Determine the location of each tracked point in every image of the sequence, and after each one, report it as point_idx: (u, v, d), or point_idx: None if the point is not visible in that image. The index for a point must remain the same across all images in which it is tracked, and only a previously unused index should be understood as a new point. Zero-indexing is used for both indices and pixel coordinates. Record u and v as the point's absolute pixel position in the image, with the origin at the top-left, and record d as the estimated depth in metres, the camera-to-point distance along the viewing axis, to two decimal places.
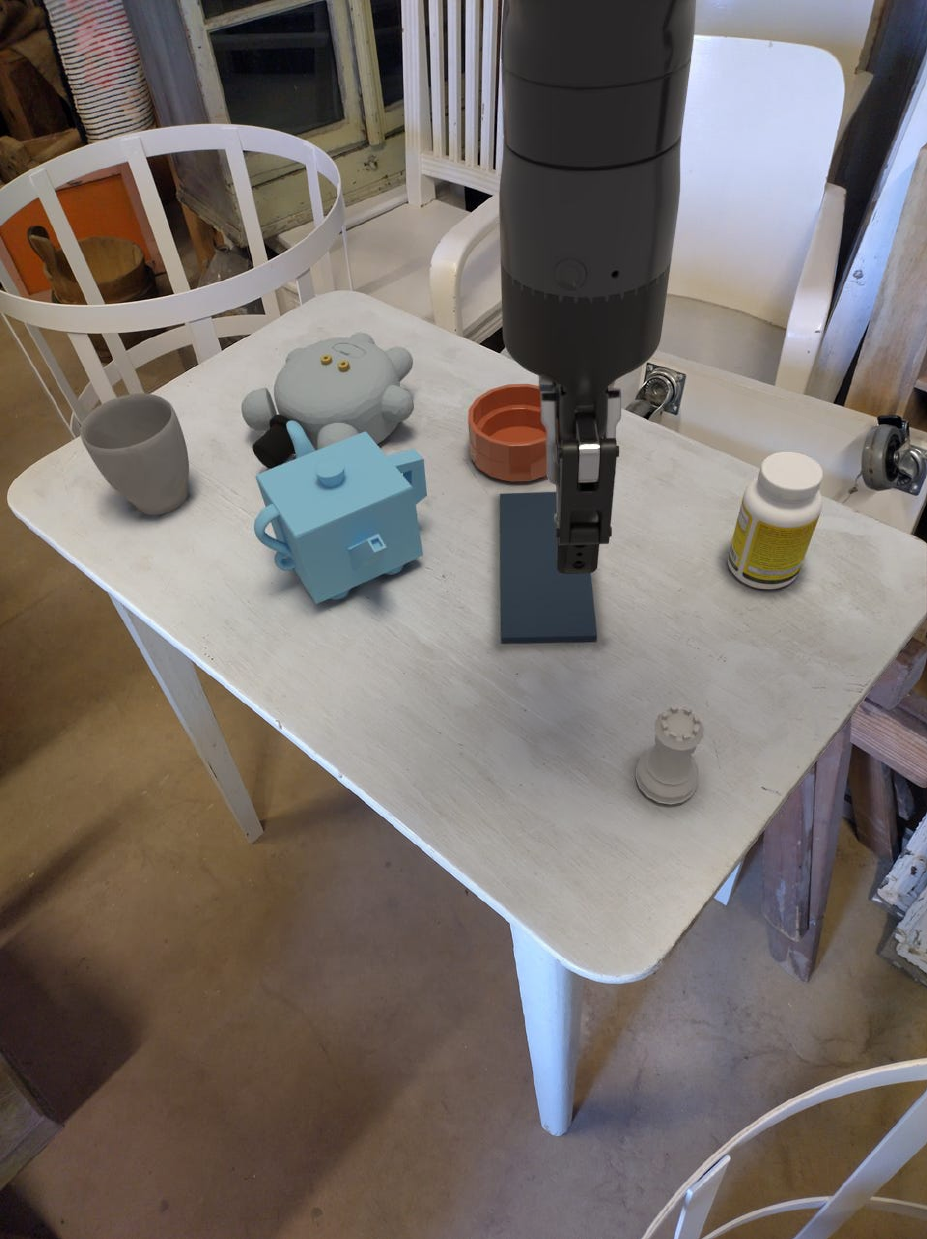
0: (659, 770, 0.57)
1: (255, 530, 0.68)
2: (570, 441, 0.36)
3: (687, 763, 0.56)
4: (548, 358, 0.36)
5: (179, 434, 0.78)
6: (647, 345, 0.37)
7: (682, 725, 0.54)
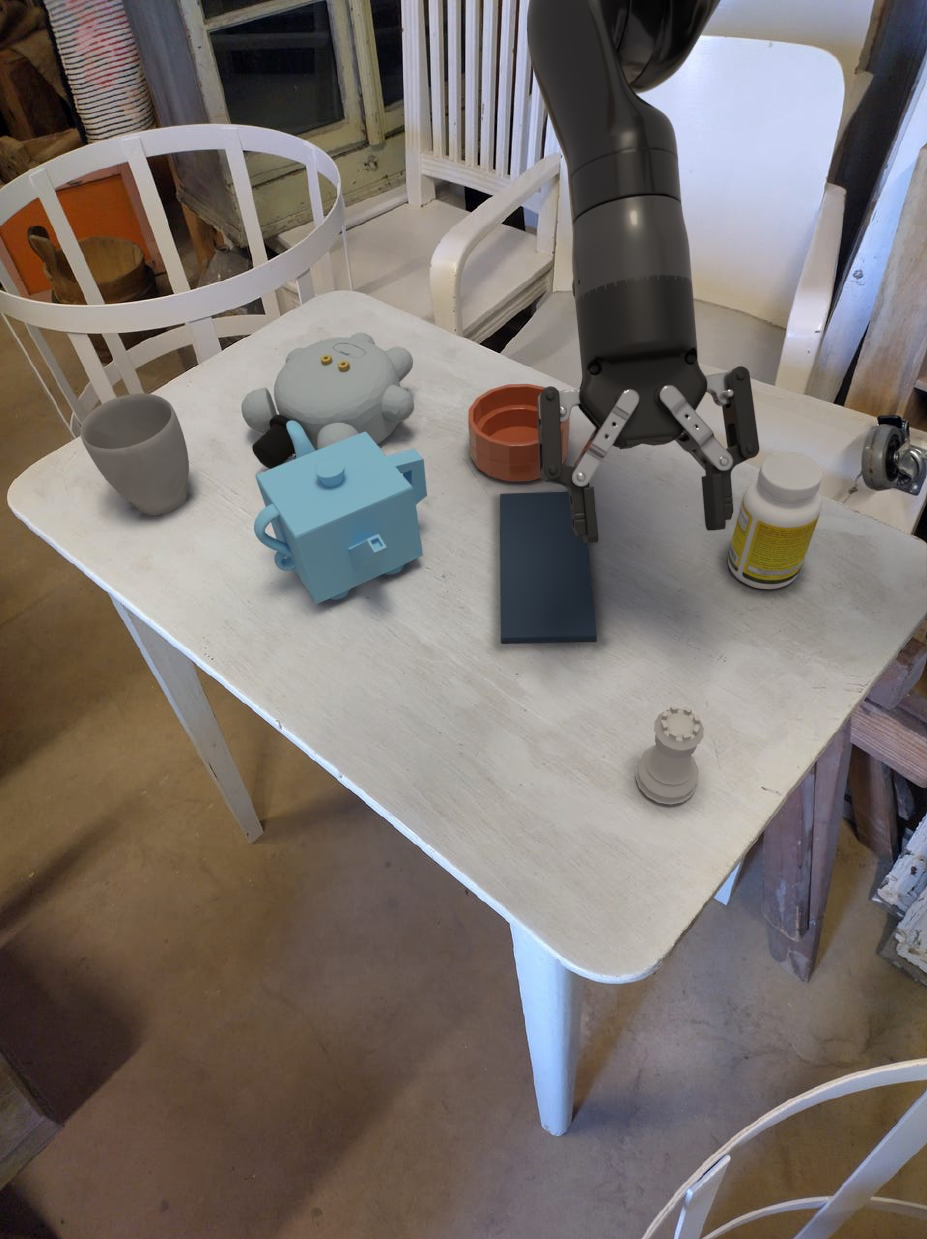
0: (659, 770, 0.57)
1: (255, 530, 0.68)
2: None
3: (687, 763, 0.56)
4: None
5: (179, 434, 0.78)
6: (607, 337, 0.51)
7: (682, 725, 0.54)
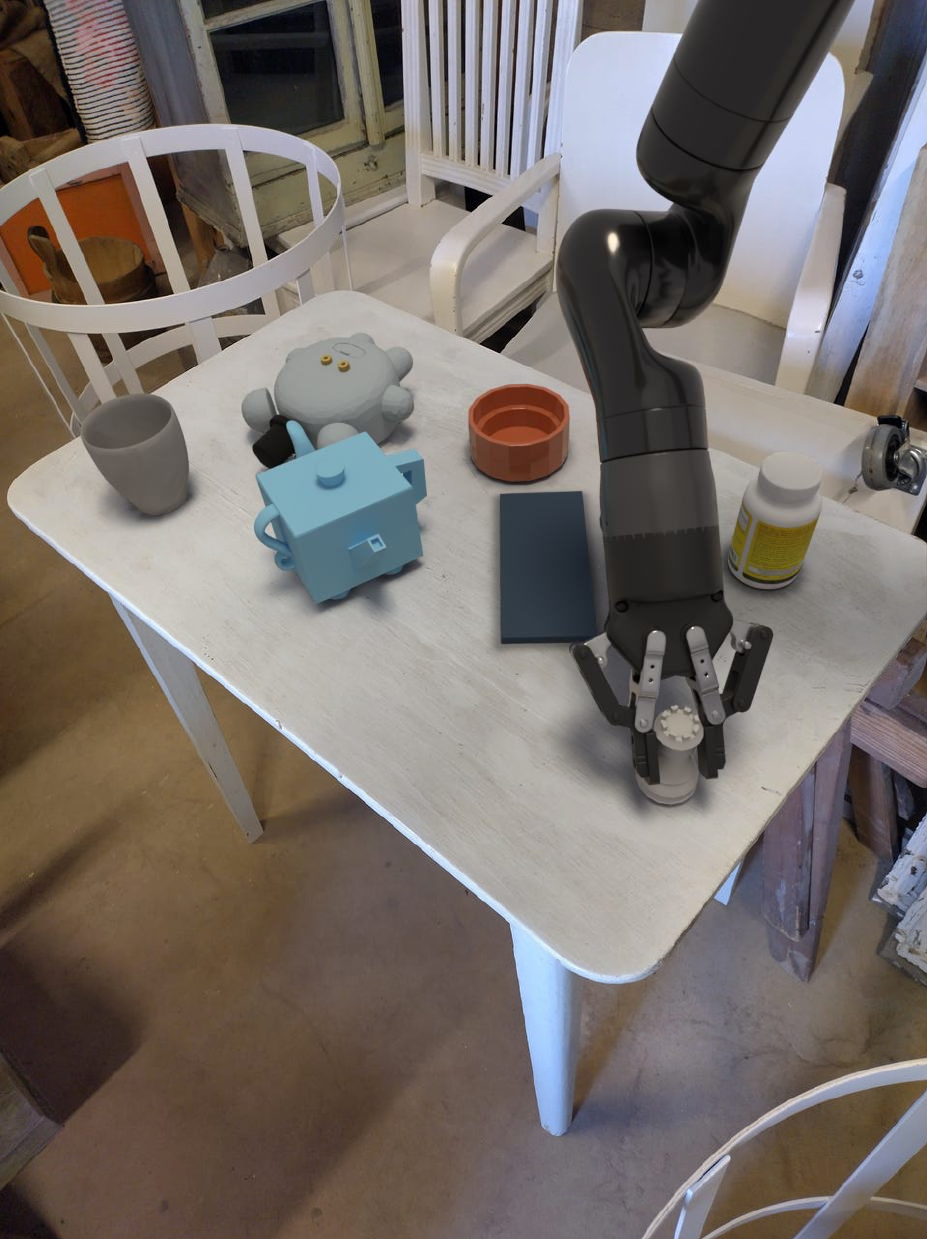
0: (659, 770, 0.57)
1: (255, 530, 0.68)
2: (574, 642, 0.55)
3: (687, 763, 0.56)
4: None
5: (179, 434, 0.78)
6: (635, 584, 0.52)
7: (682, 725, 0.54)
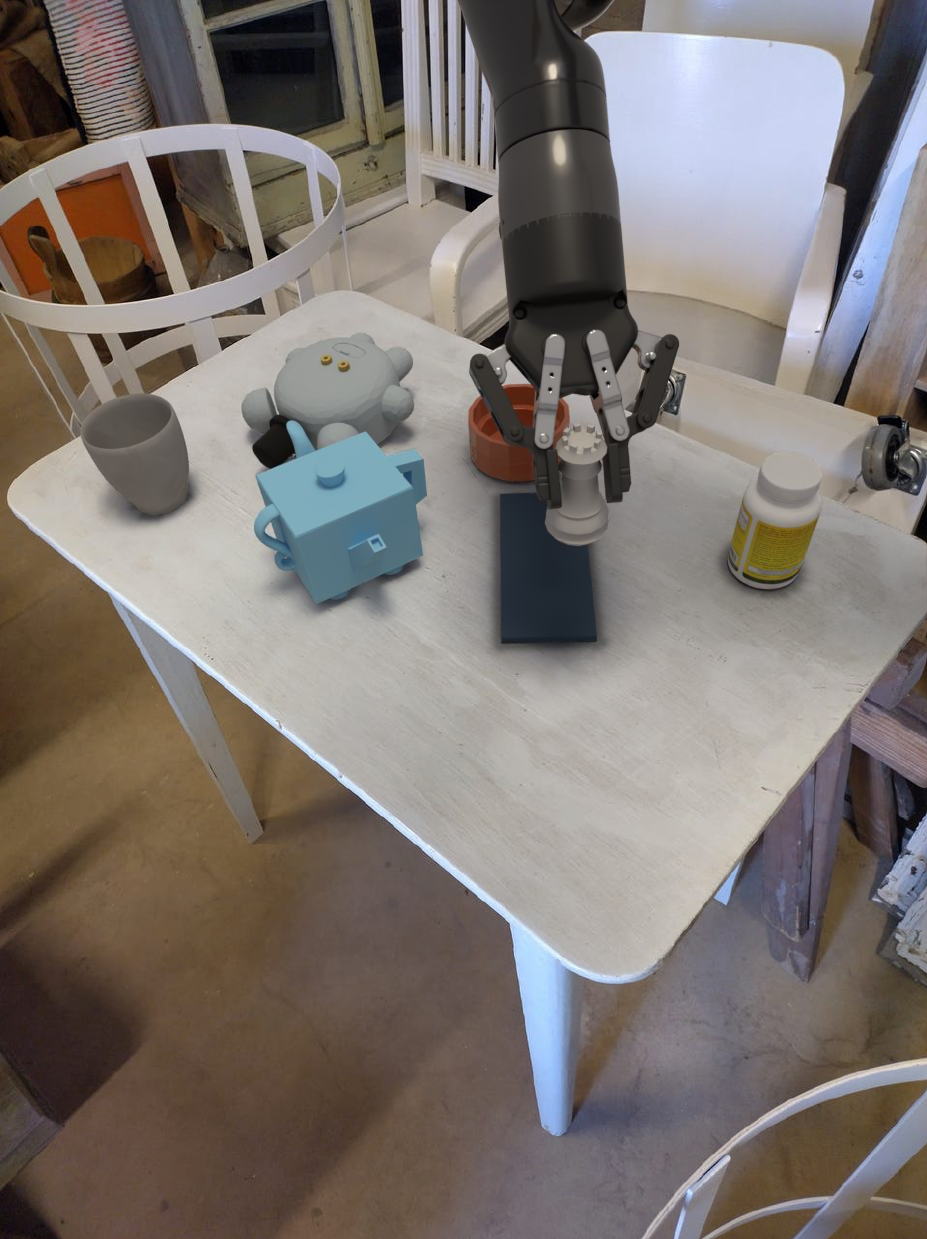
0: (565, 502, 0.54)
1: (255, 530, 0.68)
2: None
3: (593, 492, 0.54)
4: None
5: (179, 434, 0.78)
6: (530, 278, 0.49)
7: (584, 440, 0.51)
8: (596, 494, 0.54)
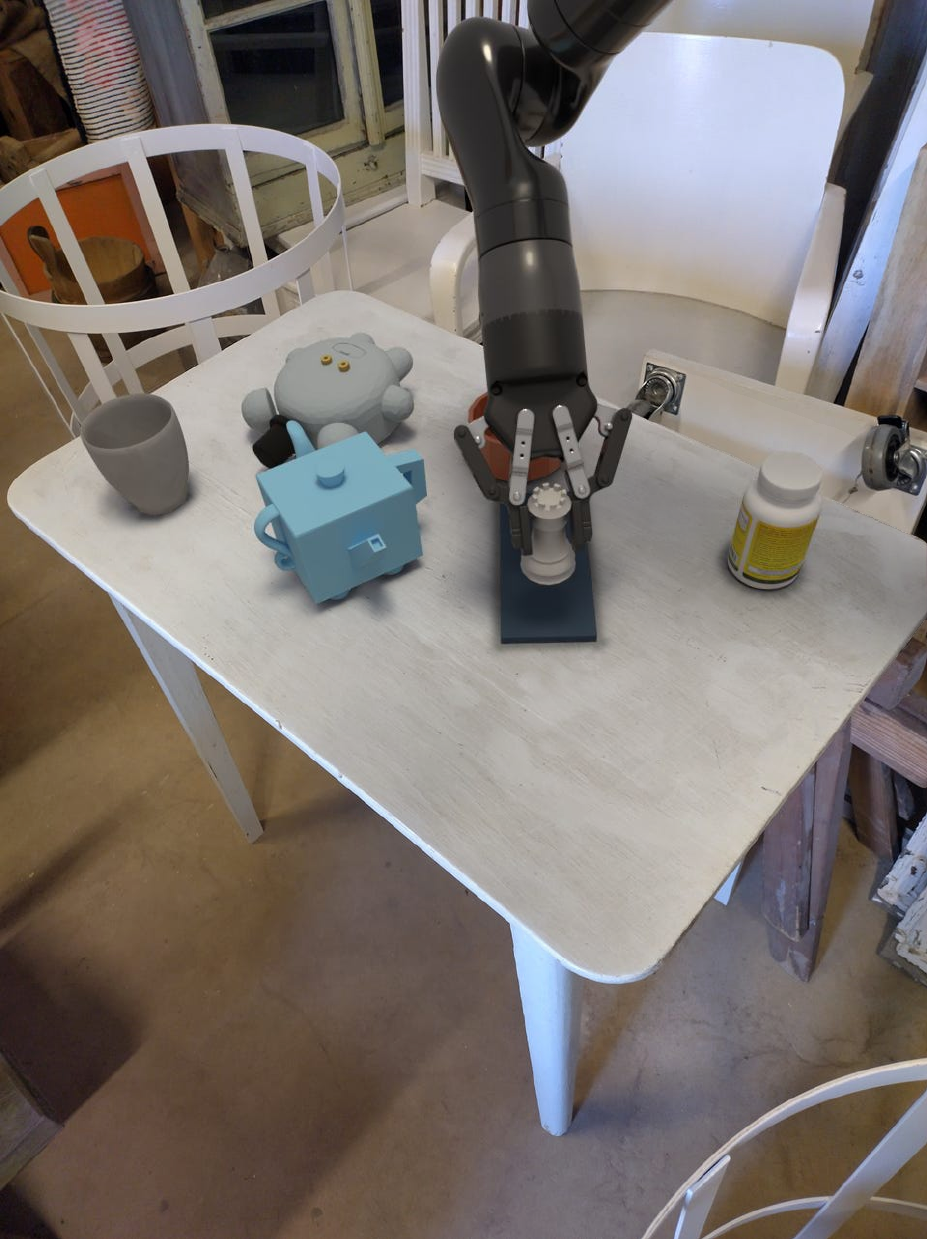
0: (536, 549, 0.63)
1: (255, 530, 0.68)
2: None
3: (560, 540, 0.63)
4: None
5: (179, 434, 0.78)
6: (504, 363, 0.58)
7: (551, 498, 0.60)
8: (563, 542, 0.63)
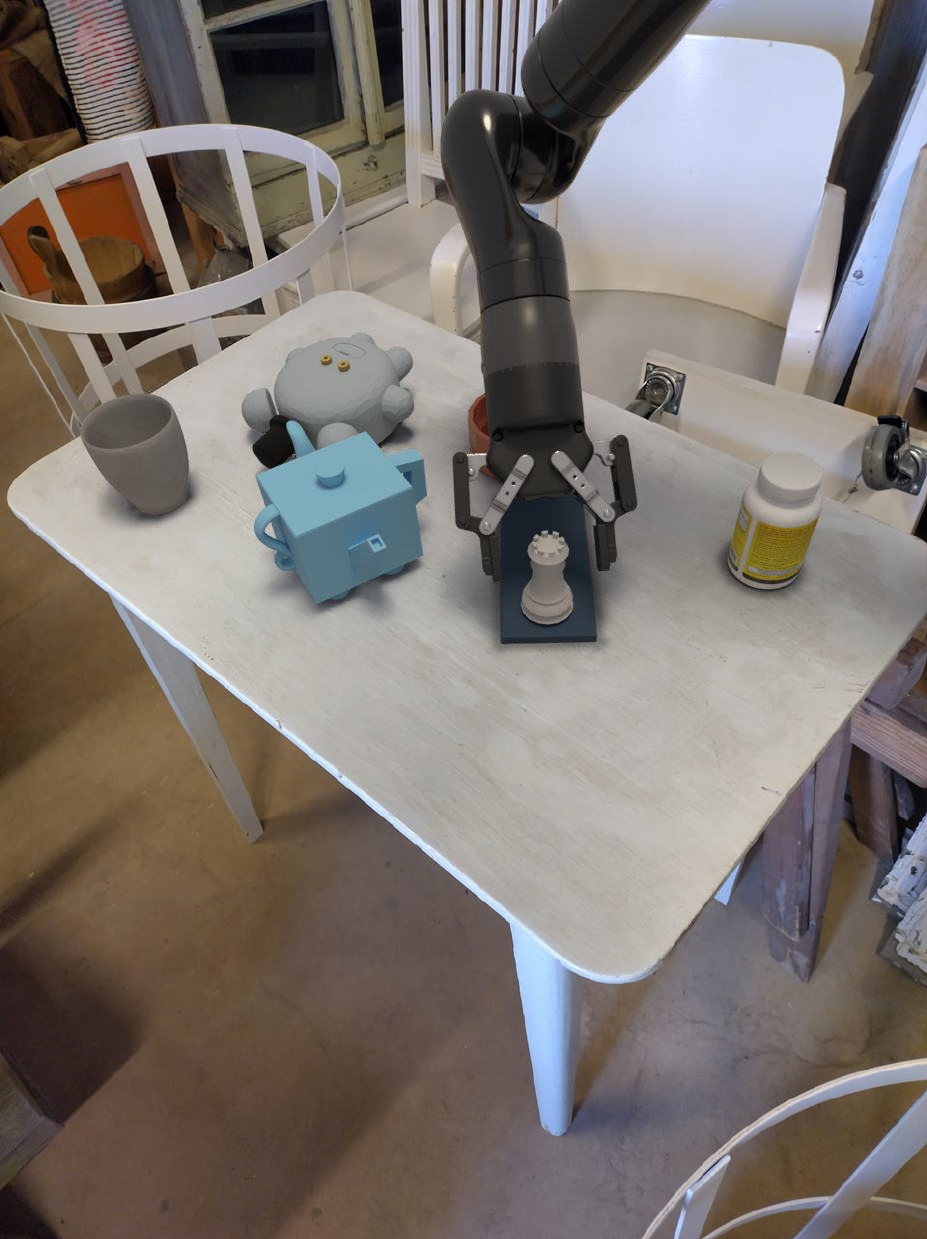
0: (536, 591, 0.67)
1: (255, 530, 0.68)
2: None
3: (558, 584, 0.66)
4: None
5: (179, 434, 0.78)
6: (505, 412, 0.61)
7: (550, 545, 0.64)
8: (561, 585, 0.67)
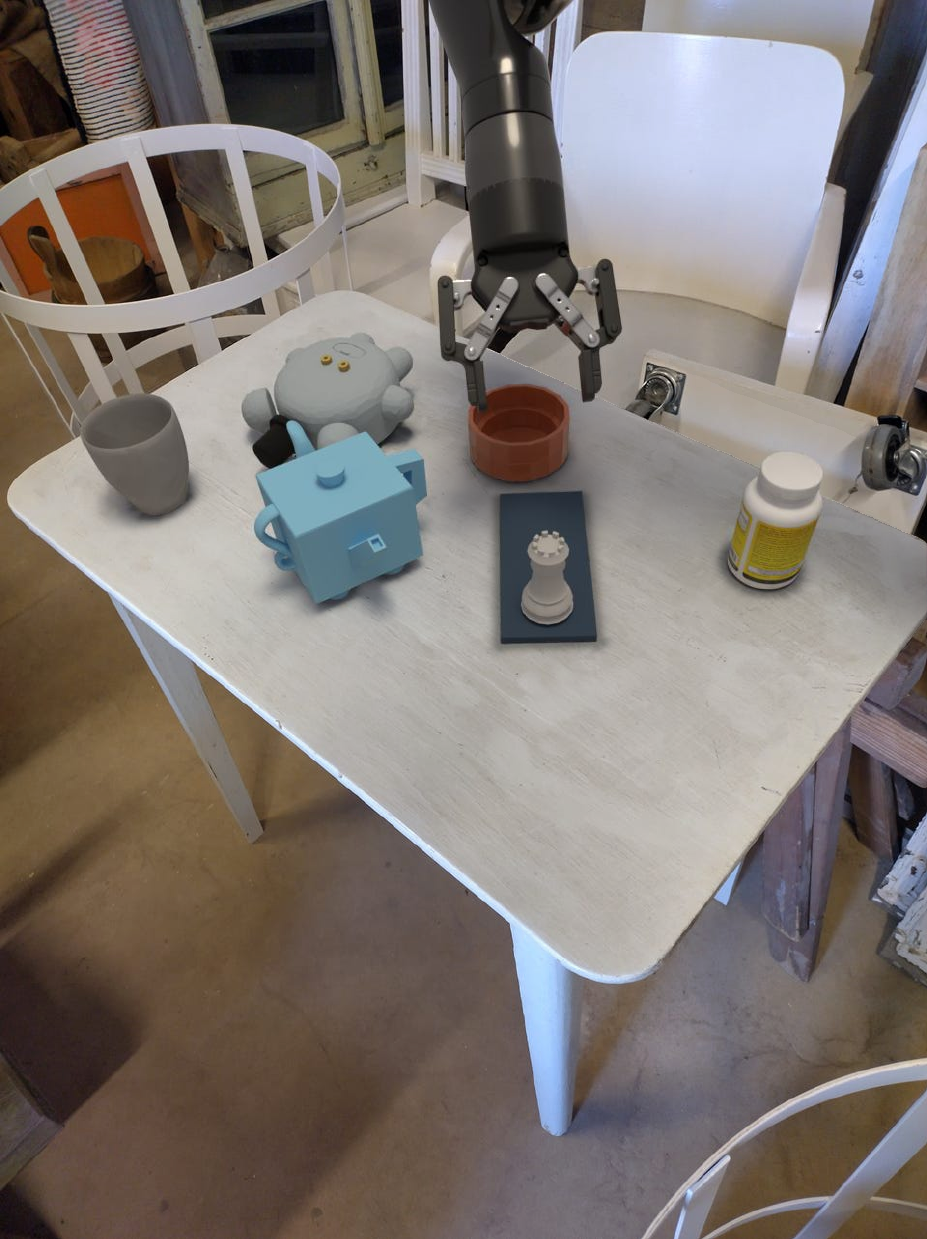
0: (536, 591, 0.67)
1: (255, 530, 0.68)
2: None
3: (558, 584, 0.66)
4: None
5: (179, 434, 0.78)
6: (489, 231, 0.61)
7: (550, 545, 0.64)
8: (561, 585, 0.67)
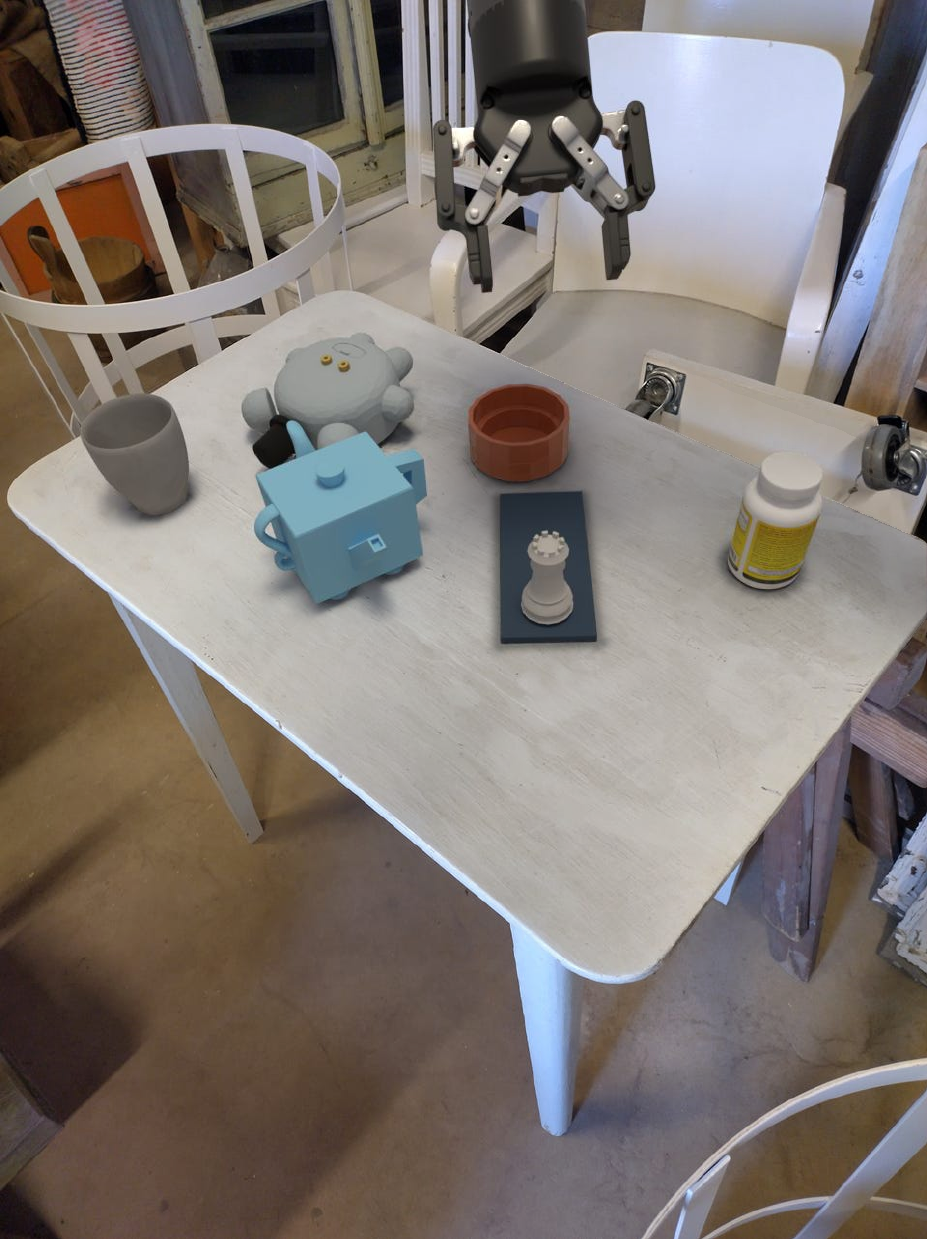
0: (536, 591, 0.67)
1: (255, 530, 0.68)
2: None
3: (558, 584, 0.66)
4: None
5: (179, 434, 0.78)
6: (496, 60, 0.50)
7: (550, 545, 0.64)
8: (561, 585, 0.67)
